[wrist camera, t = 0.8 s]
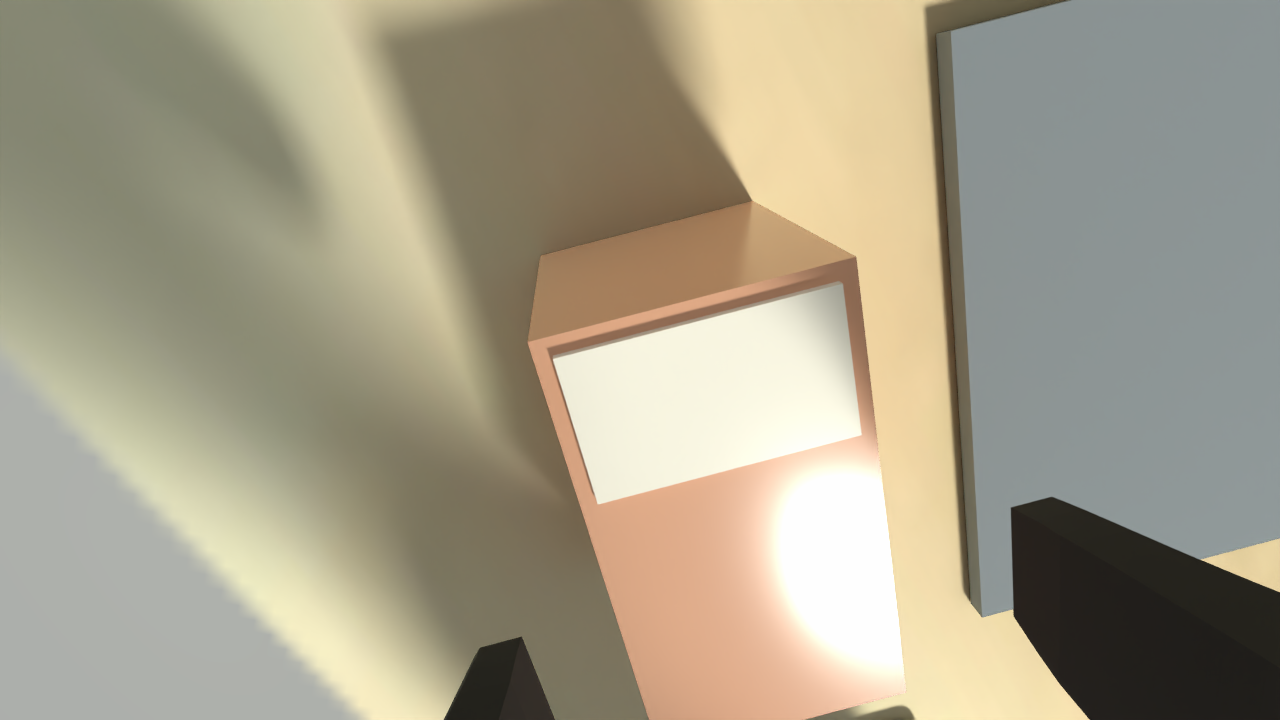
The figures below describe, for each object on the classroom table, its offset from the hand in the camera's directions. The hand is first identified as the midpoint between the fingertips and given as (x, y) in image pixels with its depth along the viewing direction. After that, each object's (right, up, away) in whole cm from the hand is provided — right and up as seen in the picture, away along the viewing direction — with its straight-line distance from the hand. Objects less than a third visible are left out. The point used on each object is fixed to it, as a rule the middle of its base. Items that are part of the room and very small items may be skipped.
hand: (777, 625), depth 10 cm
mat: (+13, +5, +8) cm, 16 cm away
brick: (-1, +3, +7) cm, 8 cm away
